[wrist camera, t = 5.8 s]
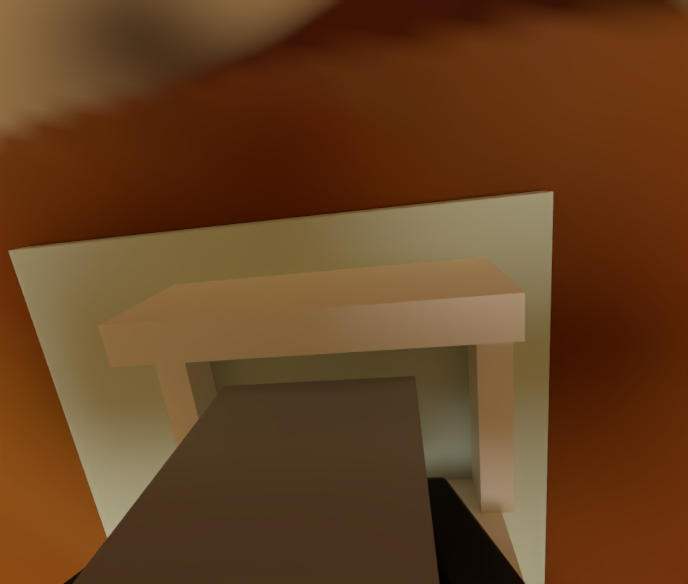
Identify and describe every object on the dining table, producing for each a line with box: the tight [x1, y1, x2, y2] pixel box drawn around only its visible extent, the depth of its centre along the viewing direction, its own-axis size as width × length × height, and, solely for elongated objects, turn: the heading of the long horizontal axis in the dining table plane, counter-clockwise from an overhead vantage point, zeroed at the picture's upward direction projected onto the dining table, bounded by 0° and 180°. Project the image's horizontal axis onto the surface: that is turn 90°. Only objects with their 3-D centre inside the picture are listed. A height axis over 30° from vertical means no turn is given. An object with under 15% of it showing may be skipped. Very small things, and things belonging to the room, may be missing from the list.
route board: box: [8, 190, 553, 584], centre depth 14 cm, size 14×23×1 cm, turn 7°
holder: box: [98, 257, 525, 581], centre depth 10 cm, size 9×7×3 cm
